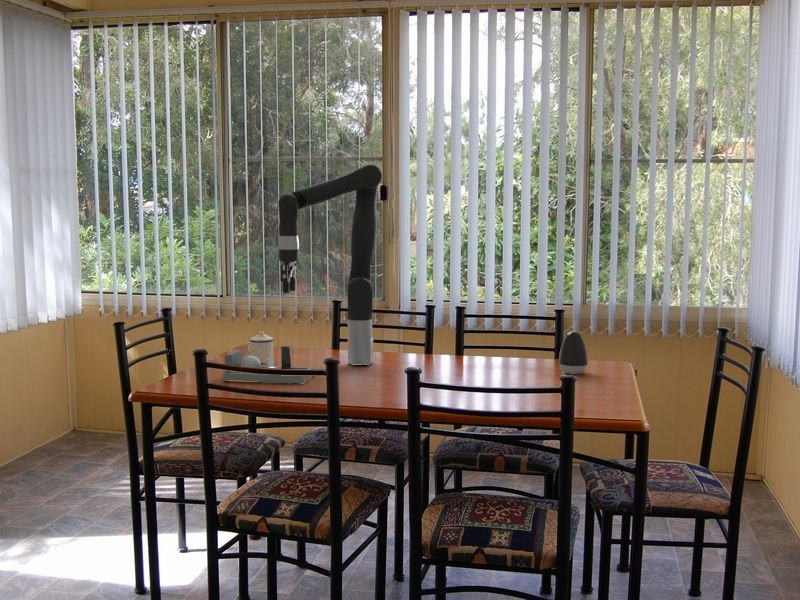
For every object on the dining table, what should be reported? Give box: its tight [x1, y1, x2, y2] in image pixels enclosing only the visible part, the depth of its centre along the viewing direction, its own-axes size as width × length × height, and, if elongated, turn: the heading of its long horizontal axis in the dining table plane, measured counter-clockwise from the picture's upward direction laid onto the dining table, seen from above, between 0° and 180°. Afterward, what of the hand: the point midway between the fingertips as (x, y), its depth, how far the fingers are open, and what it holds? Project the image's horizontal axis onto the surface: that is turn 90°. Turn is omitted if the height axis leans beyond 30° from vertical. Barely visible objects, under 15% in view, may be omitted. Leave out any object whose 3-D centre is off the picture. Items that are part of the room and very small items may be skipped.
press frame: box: [222, 349, 315, 385], centre depth 288 cm, size 28×15×9 cm, turn 82°
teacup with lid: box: [243, 331, 274, 360], centre depth 321 cm, size 12×9×12 cm
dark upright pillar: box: [264, 345, 292, 369], centre depth 288 cm, size 8×6×11 cm
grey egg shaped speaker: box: [558, 330, 589, 375], centre depth 298 cm, size 10×10×15 cm
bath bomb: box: [239, 355, 263, 368], centre depth 289 cm, size 8×8×8 cm
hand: (289, 291), depth 308 cm, fingers open, 8 cm apart
